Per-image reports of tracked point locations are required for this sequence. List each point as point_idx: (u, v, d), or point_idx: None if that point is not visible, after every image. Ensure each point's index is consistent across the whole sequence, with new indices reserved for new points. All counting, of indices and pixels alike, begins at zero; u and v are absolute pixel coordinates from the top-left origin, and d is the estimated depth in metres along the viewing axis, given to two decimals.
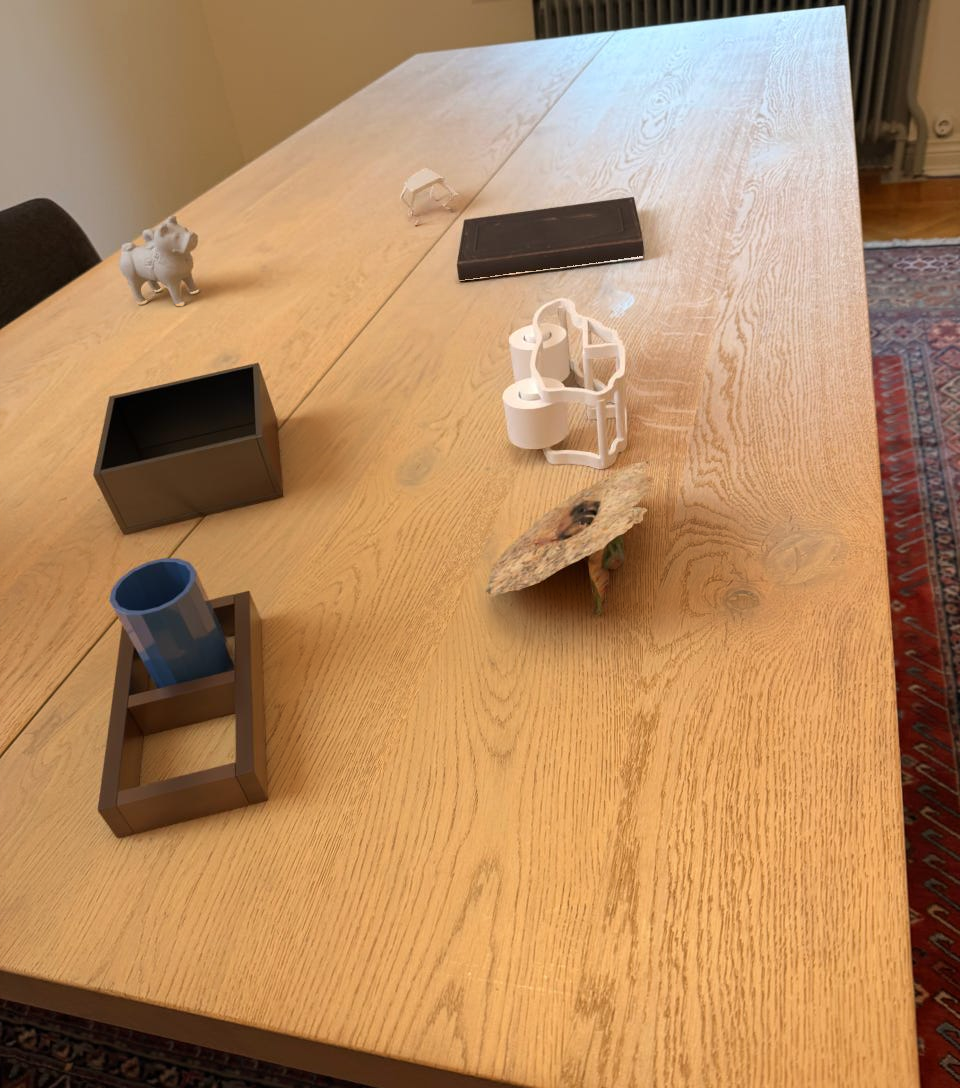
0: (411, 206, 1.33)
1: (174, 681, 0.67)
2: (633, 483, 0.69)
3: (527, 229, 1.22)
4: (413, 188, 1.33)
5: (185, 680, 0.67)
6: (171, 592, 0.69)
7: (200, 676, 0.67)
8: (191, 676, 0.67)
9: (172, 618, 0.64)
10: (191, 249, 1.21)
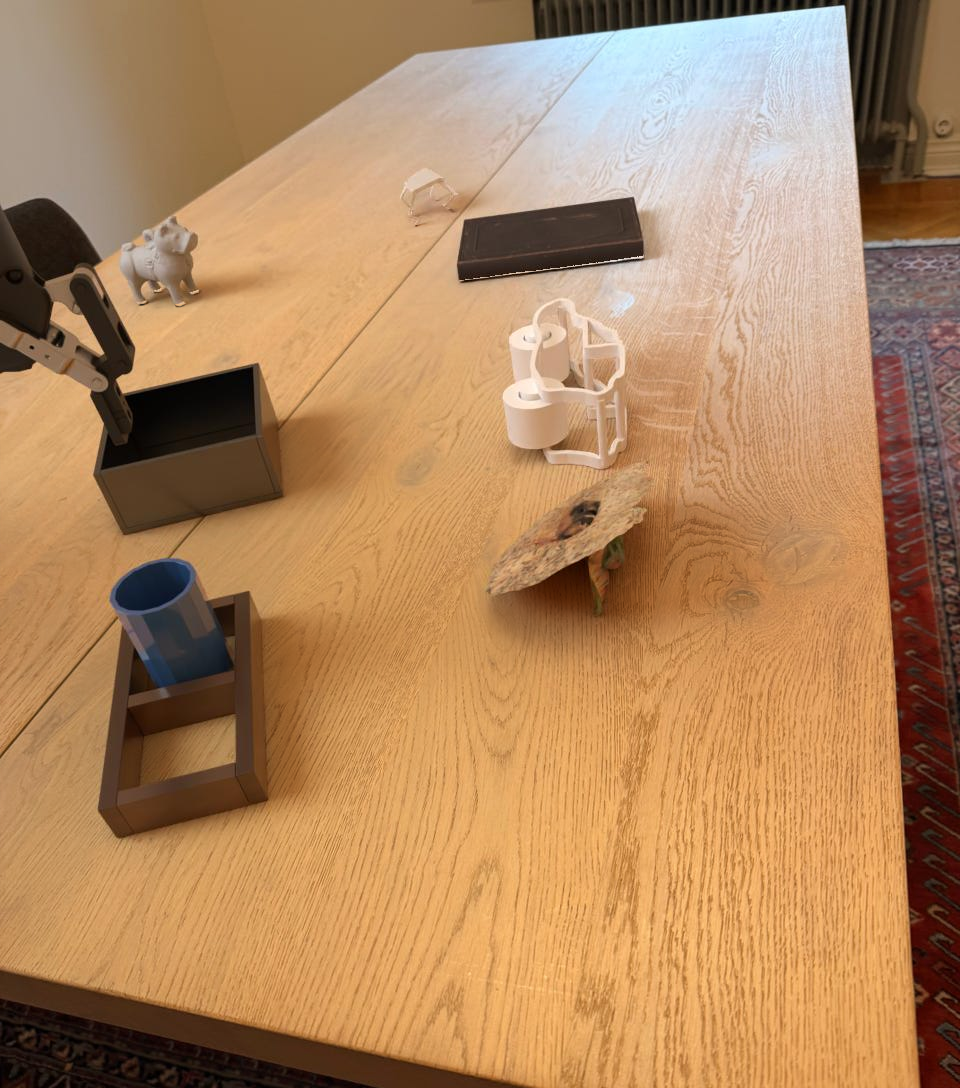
0: (411, 206, 1.33)
1: (174, 681, 0.67)
2: (633, 483, 0.69)
3: (527, 229, 1.22)
4: (413, 188, 1.33)
5: (185, 680, 0.67)
6: (171, 592, 0.69)
7: (200, 676, 0.67)
8: (191, 676, 0.67)
9: (172, 618, 0.64)
10: (191, 249, 1.21)
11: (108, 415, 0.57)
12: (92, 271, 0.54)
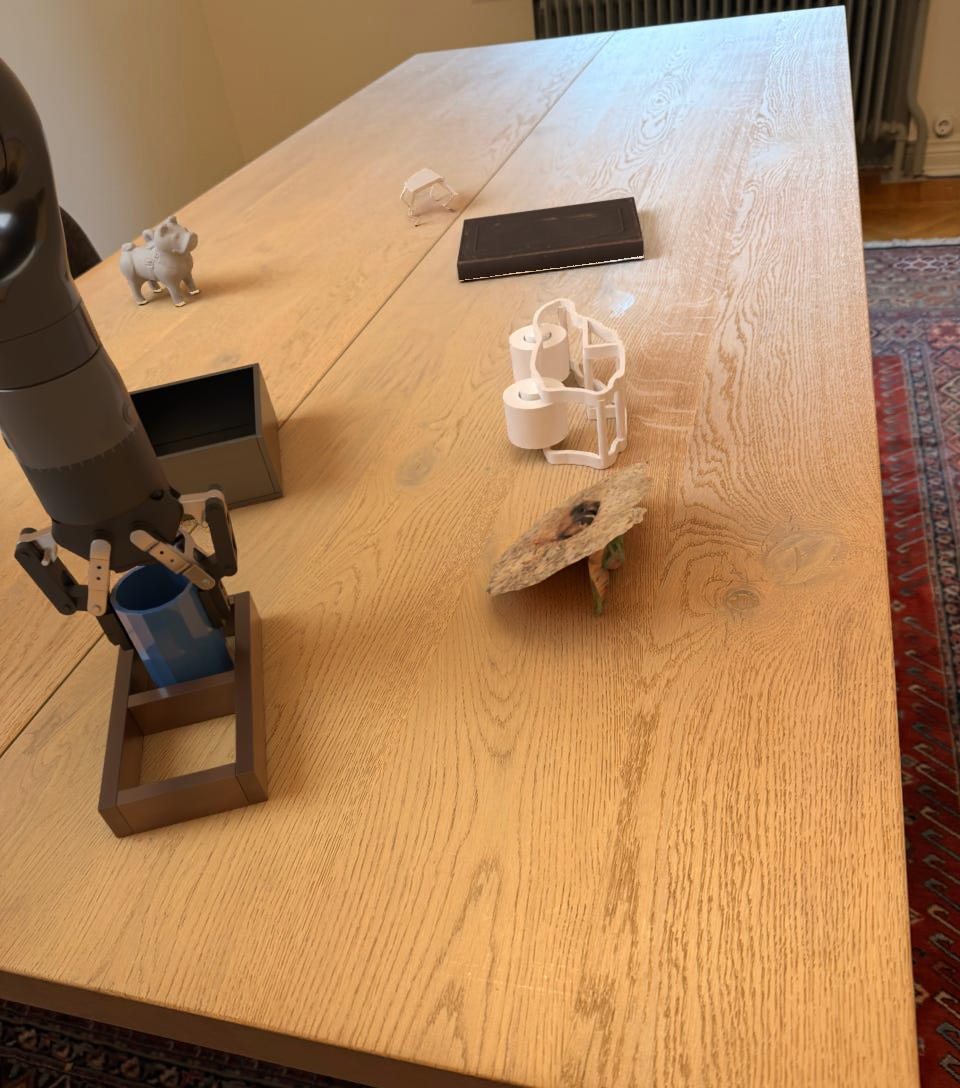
0: (411, 206, 1.33)
1: (174, 681, 0.67)
2: (633, 483, 0.69)
3: (527, 229, 1.22)
4: (413, 188, 1.33)
5: (185, 680, 0.67)
6: (172, 592, 0.69)
7: (200, 676, 0.67)
8: (191, 676, 0.67)
9: (172, 618, 0.64)
10: (191, 249, 1.21)
11: (212, 606, 0.66)
12: (223, 493, 0.62)
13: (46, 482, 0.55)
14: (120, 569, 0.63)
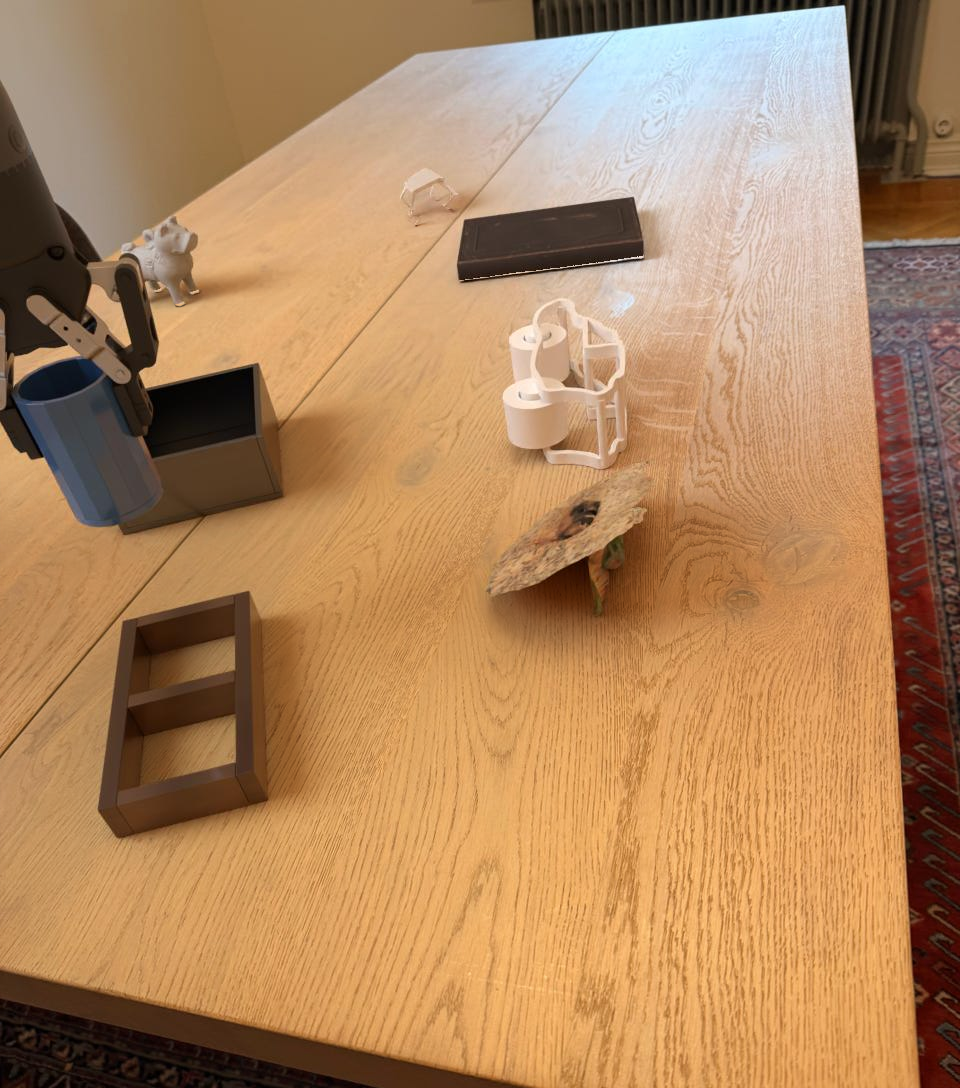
0: (411, 206, 1.33)
1: (88, 495, 0.59)
2: (633, 483, 0.69)
3: (527, 229, 1.22)
4: (413, 188, 1.33)
5: (100, 495, 0.59)
6: None
7: (117, 491, 0.60)
8: (107, 490, 0.59)
9: (80, 412, 0.56)
10: (191, 249, 1.21)
11: (129, 407, 0.58)
12: (138, 263, 0.54)
13: None
14: (20, 351, 0.55)
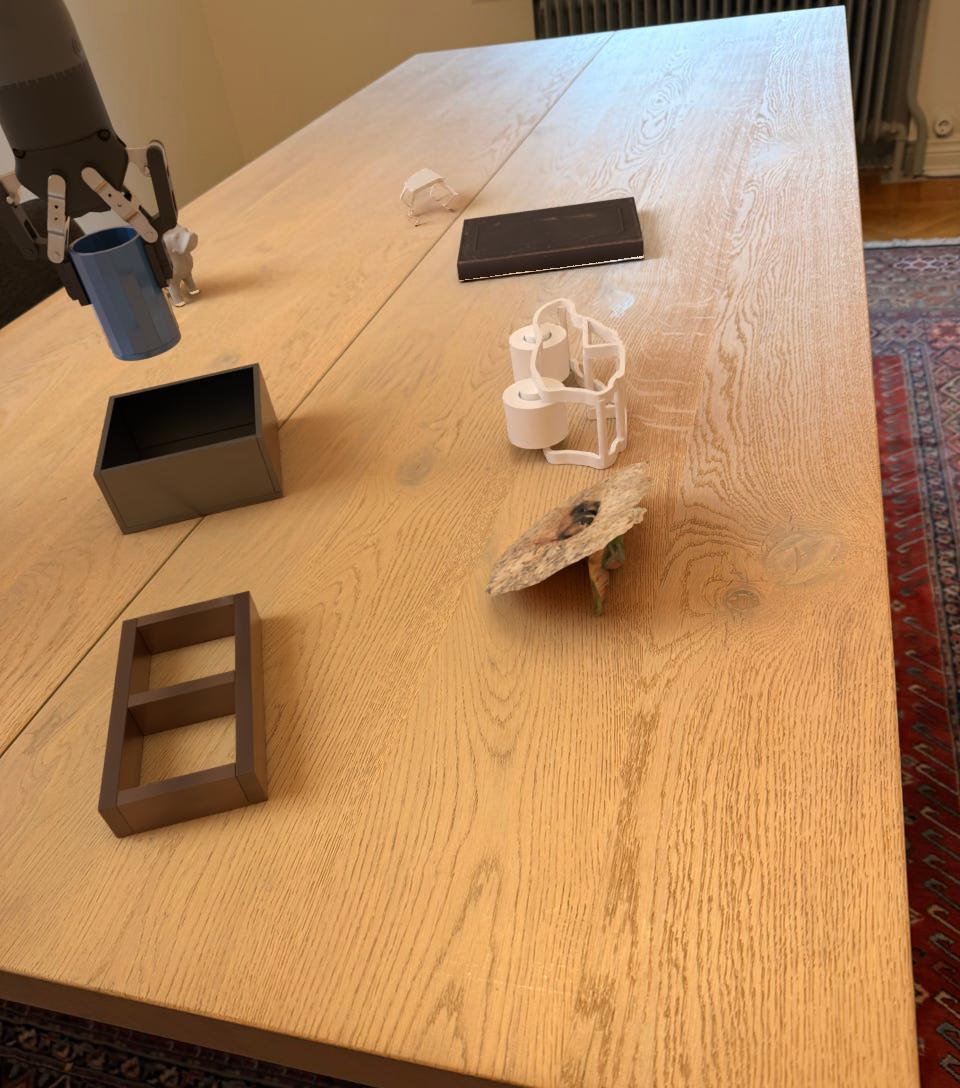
0: (411, 206, 1.33)
1: (125, 333, 0.77)
2: (633, 483, 0.69)
3: (527, 229, 1.22)
4: (413, 188, 1.33)
5: (134, 332, 0.78)
6: None
7: (147, 330, 0.78)
8: (139, 328, 0.77)
9: (120, 262, 0.74)
10: (191, 249, 1.21)
11: (156, 262, 0.76)
12: (163, 147, 0.72)
13: (7, 101, 0.65)
14: (75, 214, 0.73)
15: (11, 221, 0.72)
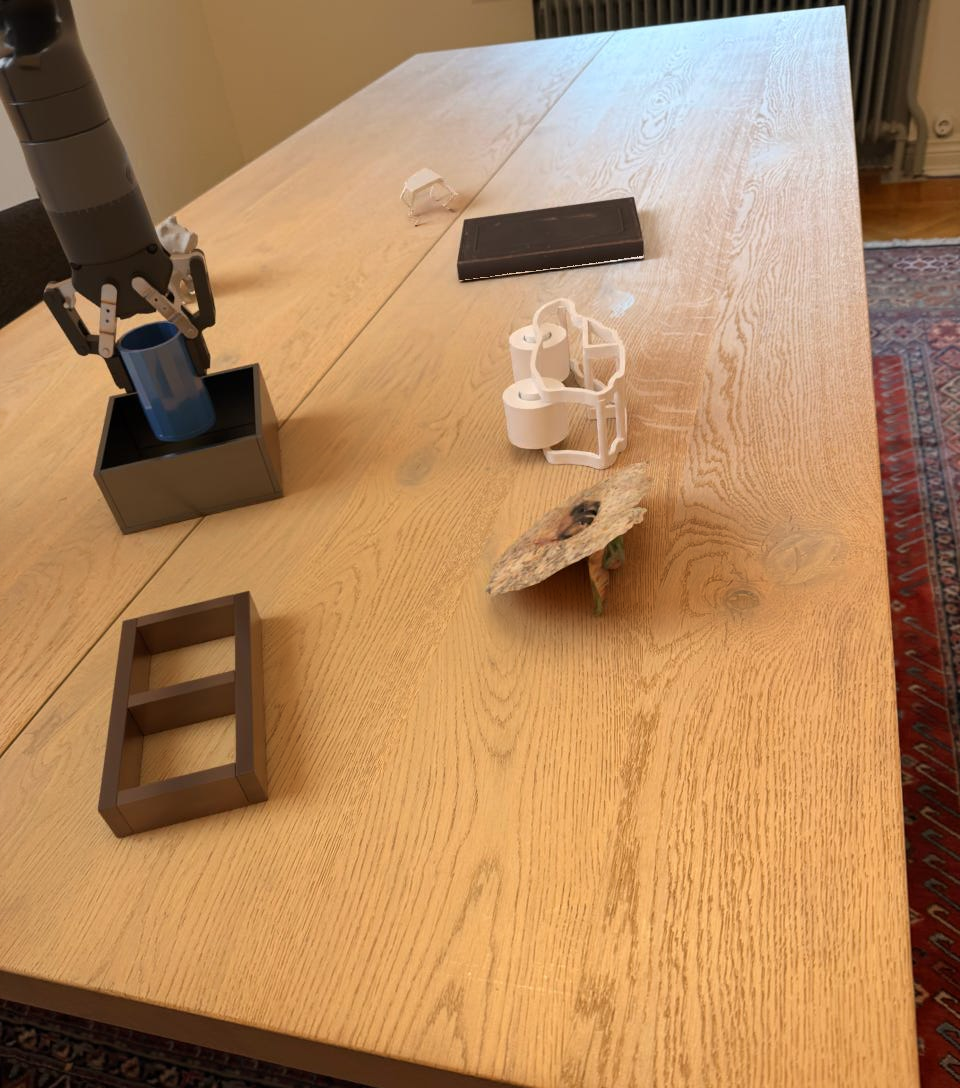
0: (411, 206, 1.33)
1: (167, 418, 0.85)
2: (633, 483, 0.69)
3: (527, 229, 1.22)
4: (413, 188, 1.33)
5: (175, 417, 0.85)
6: None
7: (187, 415, 0.86)
8: (180, 413, 0.85)
9: (164, 357, 0.82)
10: (191, 249, 1.21)
11: (196, 355, 0.84)
12: (203, 255, 0.80)
13: (68, 225, 0.73)
14: (124, 316, 0.81)
15: (67, 323, 0.80)
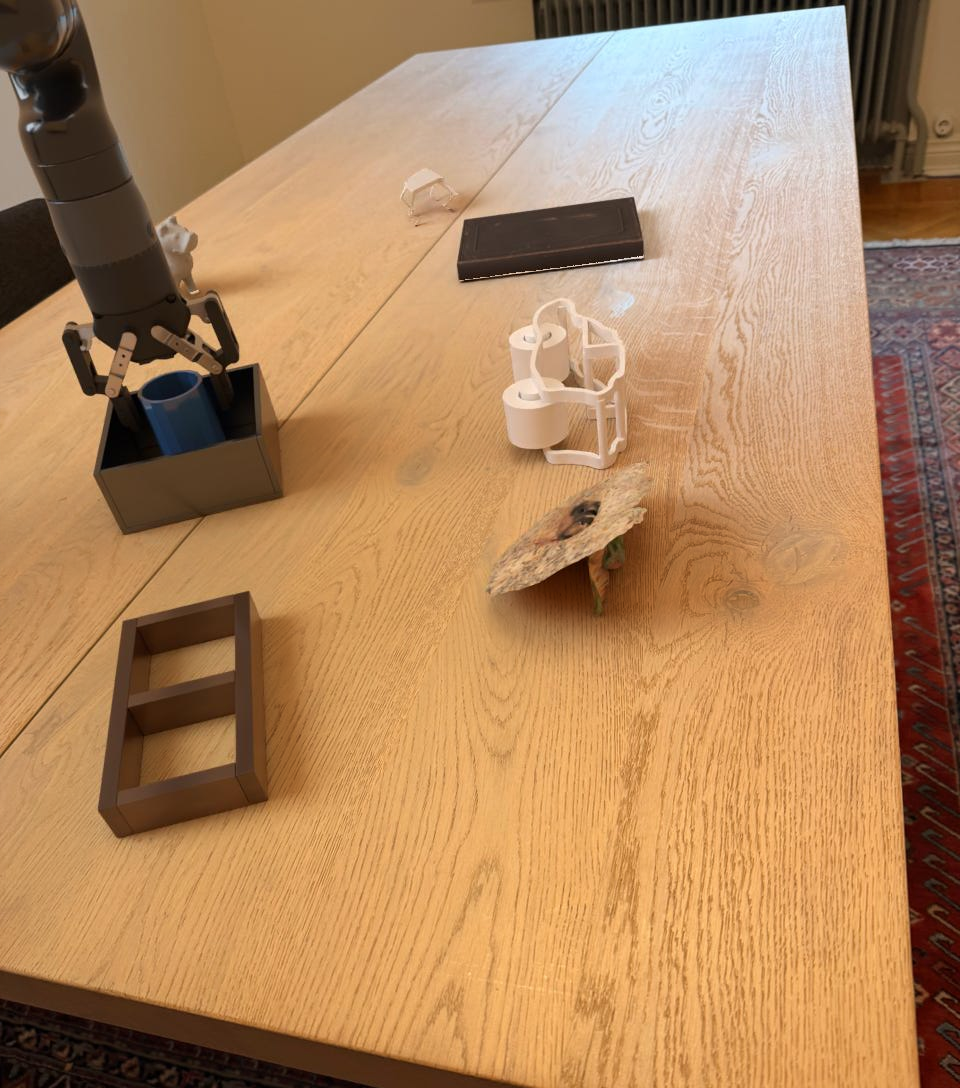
0: (411, 206, 1.33)
1: None
2: (633, 483, 0.69)
3: (527, 229, 1.22)
4: (413, 188, 1.33)
5: None
6: None
7: None
8: None
9: (184, 407, 0.85)
10: (191, 249, 1.21)
11: (220, 390, 0.86)
12: (217, 295, 0.82)
13: (92, 278, 0.76)
14: (143, 361, 0.83)
15: (79, 364, 0.82)
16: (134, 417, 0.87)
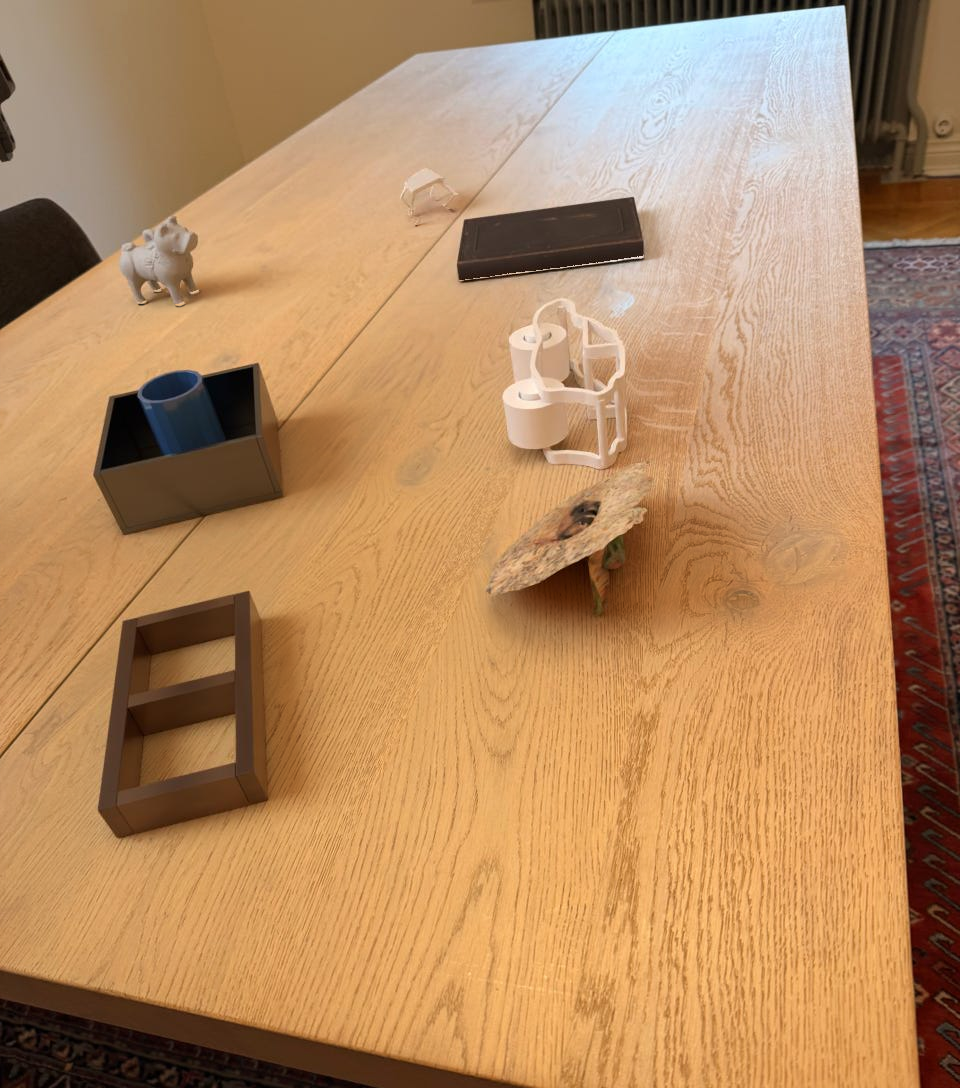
0: (411, 206, 1.33)
1: None
2: (633, 483, 0.69)
3: (527, 229, 1.22)
4: (413, 188, 1.33)
5: None
6: None
7: None
8: None
9: (184, 407, 0.85)
10: (191, 249, 1.21)
11: None
12: None
13: None
14: None
15: None
16: None
